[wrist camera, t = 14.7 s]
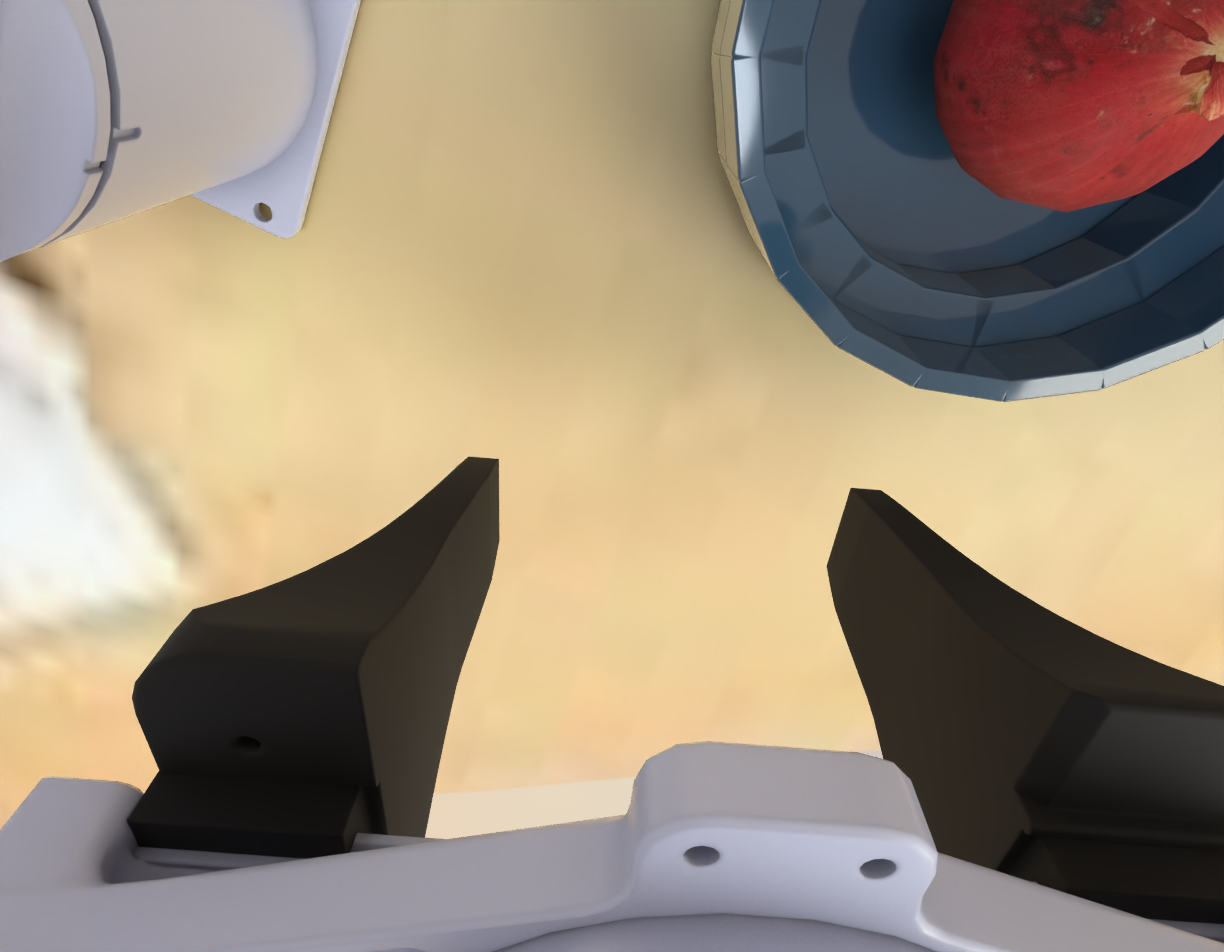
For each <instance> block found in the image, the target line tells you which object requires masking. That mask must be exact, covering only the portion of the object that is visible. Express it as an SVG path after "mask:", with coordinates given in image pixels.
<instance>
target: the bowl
mask: <svg viewBox="0 0 1224 952" xmlns="http://www.w3.org/2000/svg"><path fill="white" fill-rule="evenodd" d="M952 3H953V0H721V3H720V8H719V13H718V18H717V23H716V28H715V33H714V38H713V43H712V48H711V51H712V53H713V54H712V55H711V65H712V79H713V92H714V106H715V119H716V133H717V146H718V151H719V158H720V160H721V163H722V165H723V168H724V170H725V173H726V175H727V178H728V180H729V183H730V185H731V188H732V190H733V193H734V195H735V198H736V200H737V203H738V205H739V208H740V210H741V213H742V216H743V218H744V221H745V223H746V226H747V228H748V231H749V233H750V234H751V236H752V238H753V240H754V241H755V243H756V245H757V246H758V248H759V250H760V251H761V253H762V255H763V257H764V258H765V260H766V262H767V263H768V265H769V267H770V269H771V270H772V272H773V274H774V275H775V277H776V279H777V280H778V282H779V283H780V284H781V285H782V286H783V287H784V288H785V289H786V291H787V292H788V293H789V294H790V295H791V296H792V297H793V299H794V300H795V301H796V302H797V303H798V304H799V305H800V307H801V308H802V309H803V310H804V311H805V312H806V313H807V314H808V316H809V317H810V318H811V319H812V320H813V321H814V322H815V324H816V325H817V326H818V327H819V328H820V329H821V330H822V331H823V333H824V334H825V335H826V336H827V337H828V338H829V339H830V341H831V342H832V343H833V344H834V345H835V346H837V347H838V348H840V349H841V350H843V351H845V352H847V353H849V354H851V355H853V356H855V357H856V358H858V359H860V360H862V361H864V362H866V363H868V364H870V365H872V366H873V367H875V368H877V369H879V370H881V371H883V372H885V373H887V374H888V375H890V376H892V377H894V378H896V379H898V380H900V381H902V382H903V383H905V384H907V385H909V386H913V387H915V388H919V389H925V390H931V391H937V392H944V393H950V394H956V395H963V396H969V397H975V398H981V399H988V400H994V401H1000V402H1001V401H1004V402H1008V401H1016V400H1024V399H1032V398H1040V397H1048V396H1056V395H1064V394H1072V393H1080V392H1088V391H1096V390H1101V388H1102V389H1103V388H1107V387H1109V386H1112V385H1115V384H1117V383H1120V382H1123V381H1125V380H1128V379H1131V378H1133V377H1136V376H1139V375H1141V374H1144V373H1147V372H1149V371H1152V370H1154V369H1157V368H1160V367H1162V366H1165V365H1168V364H1170V363H1173V362H1176V361H1178V360H1181V359H1184V358H1186V357H1189V356H1191V355H1194V354H1197V353H1199V352H1202V351H1204V350H1205V349H1209V348H1211V347H1212V346H1214V345H1215V344H1217V343H1218V342H1220V341H1222V340H1223V339H1224V134H1223V135H1222V136H1221V137H1220V138H1219V139H1218V140H1217V141H1216V142H1215V143H1214V144H1213V145H1212V146H1211V147H1210V148H1209V149H1208V150H1207V151H1206V152H1205V153H1204V154H1203V155H1202V156H1200V157H1199V158H1198V159H1196V160H1195V161H1193V162H1192V163H1190V164H1189V165H1187V166H1185V167H1183V168H1182V169H1180V170H1178V171H1177V172H1175V173H1173V174H1172V175H1170V176H1168V177H1167V178H1165V179H1163V180H1162V181H1160V182H1158V183H1157V184H1155V185H1153V186H1152V187H1150V188H1148V189H1147V190H1145V191H1143V192H1142V193H1139V194H1136V195H1133V196H1130V197H1127V198H1125V199H1121V200H1116V201H1112V202H1108V203H1104V204H1099V205H1095V206H1091V207H1087V208H1083V209H1078V210H1074V211H1070V212H1063V211H1058V210H1054V209H1049V208H1044V207H1040V206H1035V205H1031V204H1026V203H1022V202H1018V201H1013V200H1009V199H1004V198H1000V197H998V196H997V195H996V194H994V193H993V192H992V191H990V190H989V189H988V188H986V187H985V186H984V185H982V184H981V183H980V182H978V181H977V180H976V179H974V178H973V177H972V176H970V175H969V174H968V173H966V172H965V171H964V170H962V168H961V167H960V165H959V163H958V162H957V160H956V159H955V157H954V154H953V152H952V150H951V148H950V146H949V143H948V141H947V139H946V137H945V134H944V132H943V130H942V128H941V126H940V123H939V121H938V119H937V117H936V103H935V88H934V73H933V59H934V56H935V54H936V51H937V48H938V45H939V42H940V39H941V36H942V33H943V30H944V27H945V24H946V21H947V18H948V15H949V12H950V9H951V6H952Z"/></svg>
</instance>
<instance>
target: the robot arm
mask: <svg viewBox="0 0 1224 952" xmlns="http://www.w3.org/2000/svg"><path fill="white" fill-rule="evenodd" d="M360 3H361V0H0V262H2V261H4V260H7V259H9V258H12V257H14V256H17V255H20V254H22V253H25V252H28V251H31V250H33V249H36V248H40V247H44V246H46V245H49V244H52V243H55V242H58V241H61V240H63V239H66V238H69V237H72V236H75V235H78V234H80V233H83V232H86V231H89V230H92V229H95V228H97V227H100V226H103V225H106V224H109V223H112V222H114V221H117V220H120V219H123V218H126V217H129V216H131V215H134V214H137V213H140V212H143V211H146V210H148V209H151V208H154V207H157V206H160V205H163V204H165V203H168V202H171V201H174V200H177V199H180V198H182V197H185V196H188V195H191V196H193V197H195V198H197V199H199V200H201V201H203V202H206V203H208V204H210V205H212V206H214V207H216V208H218V209H220V210H222V211H225V212H227V213H229V214H231V215H233V216H235V217H237V218H239V219H241V220H244V221H246V222H248V223H250V224H252V225H254V226H256V227H258V228H260V229H263V230H265V231H267V232H269V233H271V234H273V235H275V236H278V237H281V238H290V237H292V236H294V235H295V234H297V233H298V232H300V230H301V228H302V225H303V222H304V218H305V214H306V210H307V206H308V202H309V199H310V195H311V191H312V187H313V183H314V179H315V175H316V172H317V168H318V164H319V160H320V156H321V152H322V149H323V145H324V141H325V137H326V133H327V129H328V126H329V122H330V118H331V114H332V110H333V106H334V102H335V99H336V95H337V91H338V87H339V83H340V79H341V76H342V72H343V68H344V64H345V60H346V56H347V53H348V49H349V45H350V41H351V37H352V33H353V29H354V26H355V22H356V18H357V14H358V10H359V6H360ZM260 203H264V204H266V205H267V206H268V207H269V208H270V209H271V211H272V218H271V219H268V218H266V217H265V216H263V215H262V213H261V211H260ZM498 544H499V459H491V458H479V457H468V458H467V459H465V460H464V461H463V462H462V463H461V464H460V465H458V466H457V467H456V468H455V469H454V470H453V471H452V472H451V473H450V474H449V475H448V476H447V477H445V478H444V479H443V480H442V481H441V482H440V483H439V484H438V485H437V486H436V487H434V488H433V489H432V490H431V491H430V492H429V493H427V494H426V495H425V496H424V497H423V498H422V499H420V500H419V501H418V502H417V503H416V504H415V505H413V506H412V507H411V508H410V509H408V510H407V511H406V512H405V513H403V514H402V515H401V516H399V517H398V518H397V519H395V520H394V521H393V522H391V523H390V524H389V525H387V526H386V527H384V528H383V529H381V530H380V531H378V532H377V533H375V534H374V535H372V536H371V537H369V538H367V539H366V540H364V541H362V542H361V543H359V544H357V545H356V546H354V547H352V548H351V549H349V550H347V551H345V552H343V553H341V554H339V555H337V556H335V557H333V558H331V559H329V560H327V561H325V562H323V563H321V564H319V565H317V566H315V567H313V568H311V569H309V570H307V571H305V572H302V573H300V574H298V575H295V576H293V577H290V578H288V579H286V580H283V581H281V582H278V583H275V584H273V585H270V586H267V587H265V588H262V589H259V590H256V591H253V592H250V593H247V594H244V595H241V596H238V597H234V598H231V599H228V600H224V601H221V602H217V603H214V604H211V605H207V606H204V607H200V608H196V609H193V610H192V611H191V612H190V613H189V614H188V616H187V617H186V618H185V619H184V620H183V621H182V622H181V623H180V625H179V626H178V627H177V628H176V629H175V630H174V632H173V633H172V634H171V636H170V637H169V638H168V640H167V641H166V642H165V644H164V645H163V646H162V648H161V649H160V650H159V652H158V653H157V654H156V656H155V657H154V658H153V660H152V661H151V662H150V663H149V665H148V666H147V667H146V669H145V670H144V671H143V673H142V674H141V675H140V677H139V678H138V679H137V681H136V682H135V686H134V690H133V695H132V700H133V704H134V709H135V713H136V716H137V718H138V721H139V723H140V725H141V728H142V730H143V733H144V735H145V737H146V740H147V742H148V744H149V747H150V749H151V752H152V754H153V756H154V759H155V761H156V763H157V766H158V768H159V772H158V773H157V775H156V776H155V778H154V779H153V781H152V783H151V784H150V786H149V787H148V789H147V790H146V792H145V793H143V792H142V791H141V790H140V789H138V788H136V787H134V786H132V785H130V784H127V783H123V782H118V781H107V780H93V779H79V778H65V777H46V778H43V779H41V780H40V781H39V783H38V784H37V785H36V786H35V788H34V789H33V790H32V791H31V793H30V794H29V795H28V796H27V798H26V799H25V800H24V801H23V803H22V804H21V805H20V806H19V808H18V809H17V810H16V811H15V813H14V814H13V815H12V816H11V818H10V819H9V820H8V821H7V823H6V824H5V825H4V826H3V828H2V829H1V830H0V952H1224V686H1222V685H1219V684H1216V683H1214V682H1211V681H1208V680H1205V679H1203V678H1200V677H1197V676H1194V675H1192V674H1189V673H1186V672H1183V671H1180V670H1178V669H1175V668H1172V667H1169V666H1167V665H1164V664H1162V663H1159V662H1157V661H1154V660H1152V659H1150V658H1147V657H1145V656H1143V655H1140V654H1138V653H1136V652H1133V651H1131V650H1129V649H1126V648H1124V647H1121V646H1119V645H1117V644H1115V643H1113V642H1111V641H1108V640H1106V639H1104V638H1102V637H1100V636H1098V635H1096V634H1094V633H1092V632H1090V631H1088V630H1086V629H1084V628H1082V627H1080V626H1078V625H1076V624H1074V623H1072V622H1070V621H1068V620H1066V619H1064V618H1062V617H1060V616H1058V615H1057V614H1055V613H1053V612H1051V611H1049V610H1048V609H1046V608H1044V607H1042V606H1040V605H1039V604H1037V603H1036V602H1034V601H1032V600H1031V599H1029V598H1027V597H1026V596H1024V595H1022V594H1021V593H1019V592H1017V591H1016V590H1014V589H1012V588H1011V587H1009V586H1008V585H1006V584H1005V583H1003V582H1002V581H1000V580H999V579H997V578H996V577H994V576H993V575H991V574H990V573H988V572H987V571H986V570H984V569H983V568H981V567H980V566H979V565H977V564H976V563H974V562H973V561H971V560H970V559H969V558H967V557H966V556H965V555H963V554H962V553H961V552H959V551H958V550H957V549H955V548H954V547H953V546H952V545H950V544H949V543H948V542H946V541H945V540H944V539H943V538H941V537H940V536H939V535H938V534H936V533H935V532H934V531H933V530H931V529H930V528H929V527H928V526H926V525H925V524H924V523H923V522H921V521H920V520H919V519H918V518H916V517H915V516H914V515H913V514H912V513H910V512H909V511H908V510H907V509H905V508H904V507H903V506H902V505H900V504H899V503H898V502H896V501H895V500H894V499H892V498H891V497H890V496H888V495H887V494H885V493H884V492H882V491H881V490H871V489H858V488H851V489H850V492H849V496H848V499H847V502H846V505H845V509H844V512H843V515H842V518H841V522H840V525H839V528H838V531H837V534H836V538H835V541H834V544H833V547H832V551H831V554H830V557H829V560H828V564H827V570H828V576H829V582H830V587H831V592H832V597H833V601H834V606H835V610H836V613H837V616H838V619H839V621H840V624H841V627H842V630H843V633H844V635H845V638H846V641H847V644H848V647H849V649H850V652H851V655H852V657H853V660H854V663H855V666H856V668H857V671H858V674H859V677H860V679H861V682H862V685H863V688H864V690H865V693H866V696H867V699H868V702H869V705H870V708H871V711H872V715H873V718H874V722H875V726H876V730H877V734H878V738H879V743H880V747H881V751H882V755H883V759H880V758H877V757H873V756H869V755H865V754H862V753H858V752H844V751H831V750H818V749H804V748H791V747H778V746H765V745H751V744H738V743H725V742H711V741H707V742H696V743H685V744H676V745H674V746H672V747H670V748H668V749H666V750H665V751H663V752H661V753H659V754H657V755H655V756H653V757H651V758H649V759H648V760H646V762H645V763H644V765H643V767H642V768H641V770H640V772H639V773H638V775H637V777H636V778H635V780H634V784H633V791H632V797H631V804H630V806H629V809H628V812H627V813H626V814H625V815H619V816H612V817H605V818H597V819H591V820H583V821H577V822H569V823H562V824H554V825H547V826H540V827H533V828H525V829H518V830H511V831H504V832H496V833H490V834H482V835H475V836H467V837H461V838H453V839H434V838H425V834H426V828H427V823H428V818H429V813H430V808H431V803H432V798H433V793H434V788H435V783H436V777H437V773H438V768H439V763H440V758H441V754H442V749H443V744H444V739H445V735H446V730H447V725H448V721H449V716H450V712H451V708H452V703H453V699H454V694H455V690H456V686H457V682H458V679H459V675H460V672H461V668H462V665H463V662H464V660H465V657H466V654H467V651H468V648H469V645H470V642H471V639H472V636H473V633H474V630H475V628H476V625H477V622H478V619H479V616H480V613H481V610H482V607H483V604H484V601H485V598H486V595H487V592H488V589H489V586H490V583H491V580H492V575H493V570H494V565H495V560H496V555H497V550H498Z"/></svg>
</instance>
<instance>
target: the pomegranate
mask: <svg viewBox="0 0 1224 952" xmlns="http://www.w3.org/2000/svg"><path fill="white" fill-rule="evenodd" d="M933 73H934V88H935V103H936V117H937V119H938V121H939V123H940V126H941V128H942V130H943V132H944V134H945V137H946V139H947V141H948V143H949V146H950V148H951V150H952V152H953V154H954V157H955V159H956V160H957V162H958V163H959V165H960V167H961V168H962V170H964V171H965V172H966V173H968V174H969V175H970V176H972V177H973V178H974V179H976V180H977V181H978V182H980V183H981V184H982V185H984V186H985V187H986V188H988V189H989V190H990V191H992V192H993V193H994V194H996V195H997V196H998V197H1000V198H1004V199H1009V200H1013V201H1018V202H1022V203H1026V204H1031V205H1035V206H1040V207H1044V208H1049V209H1054V210H1058V211H1063V212H1070V211H1074V210H1078V209H1083V208H1087V207H1091V206H1095V205H1099V204H1104V203H1108V202H1112V201H1116V200H1121V199H1125V198H1127V197H1130V196H1133V195H1136V194H1139V193H1142V192H1143V191H1145V190H1147V189H1148V188H1150V187H1152V186H1153V185H1155V184H1157V183H1158V182H1160V181H1162V180H1163V179H1165V178H1167V177H1168V176H1170V175H1172V174H1173V173H1175V172H1177V171H1178V170H1180V169H1182V168H1183V167H1185V166H1187V165H1189V164H1190V163H1192V162H1193V161H1195V160H1196V159H1198V158H1199V157H1200V156H1202V155H1203V154H1204V153H1205V152H1206V151H1207V150H1208V149H1209V148H1210V147H1211V146H1212V145H1213V144H1214V143H1215V142H1216V141H1217V140H1218V139H1219V138H1220V137H1221V136H1222V135H1223V134H1224V0H953V3H952V6H951V9H950V12H949V15H948V18H947V21H946V24H945V27H944V30H943V33H942V36H941V39H940V42H939V45H938V48H937V51H936V54H935V56H934V59H933Z"/></svg>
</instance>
